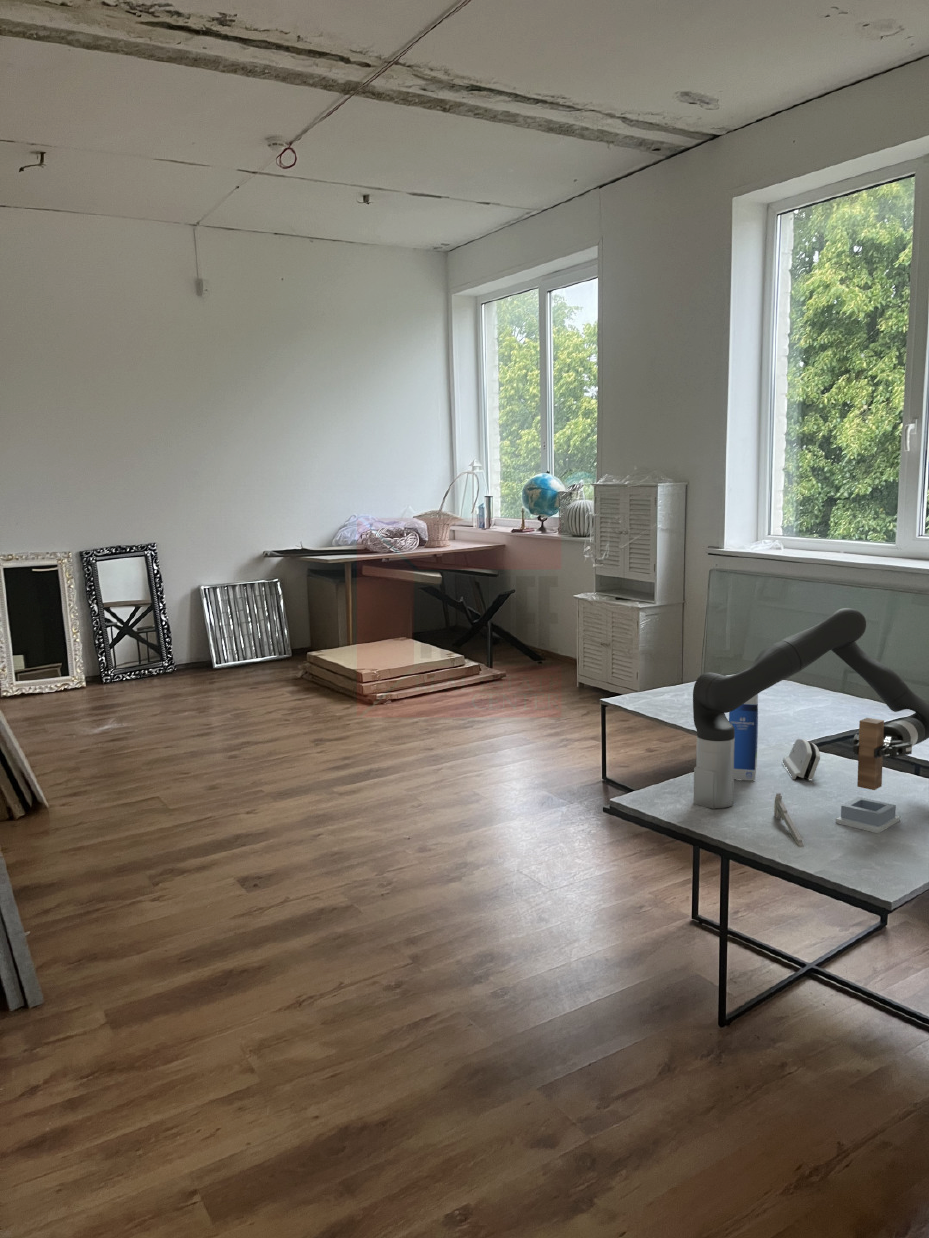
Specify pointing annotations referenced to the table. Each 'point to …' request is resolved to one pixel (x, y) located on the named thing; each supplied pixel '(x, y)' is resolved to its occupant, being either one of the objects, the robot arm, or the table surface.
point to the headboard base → (868, 814)
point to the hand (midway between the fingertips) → (865, 751)
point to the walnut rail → (870, 753)
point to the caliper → (786, 818)
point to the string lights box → (745, 739)
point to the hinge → (802, 759)
